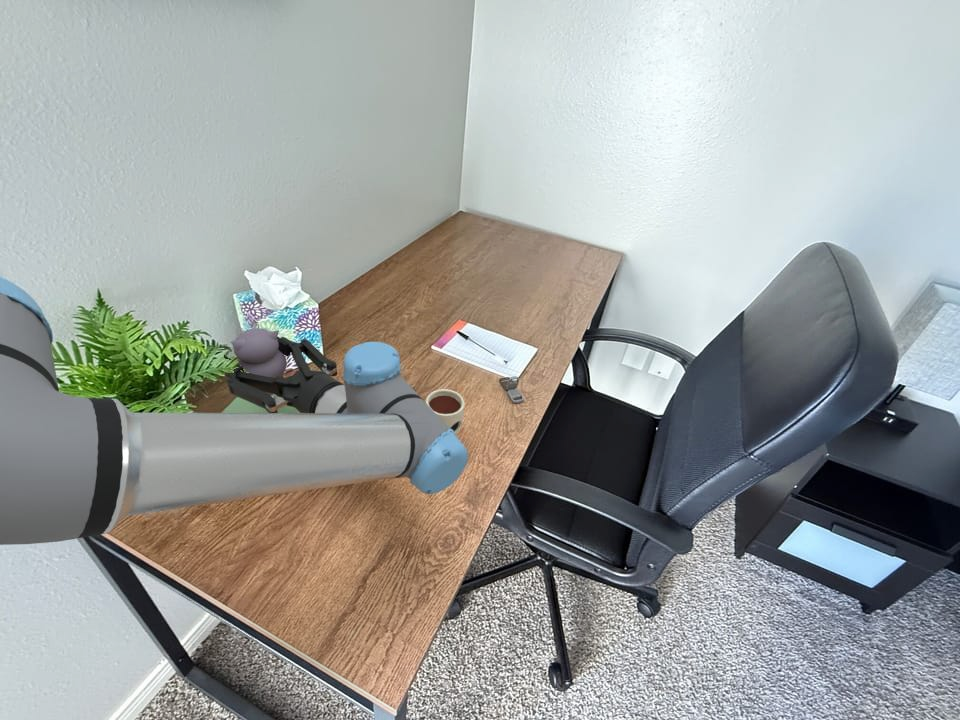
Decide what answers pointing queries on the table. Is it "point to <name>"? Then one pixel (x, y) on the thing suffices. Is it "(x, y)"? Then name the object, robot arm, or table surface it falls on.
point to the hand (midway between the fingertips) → (242, 346)
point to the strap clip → (514, 392)
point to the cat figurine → (260, 353)
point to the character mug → (447, 407)
